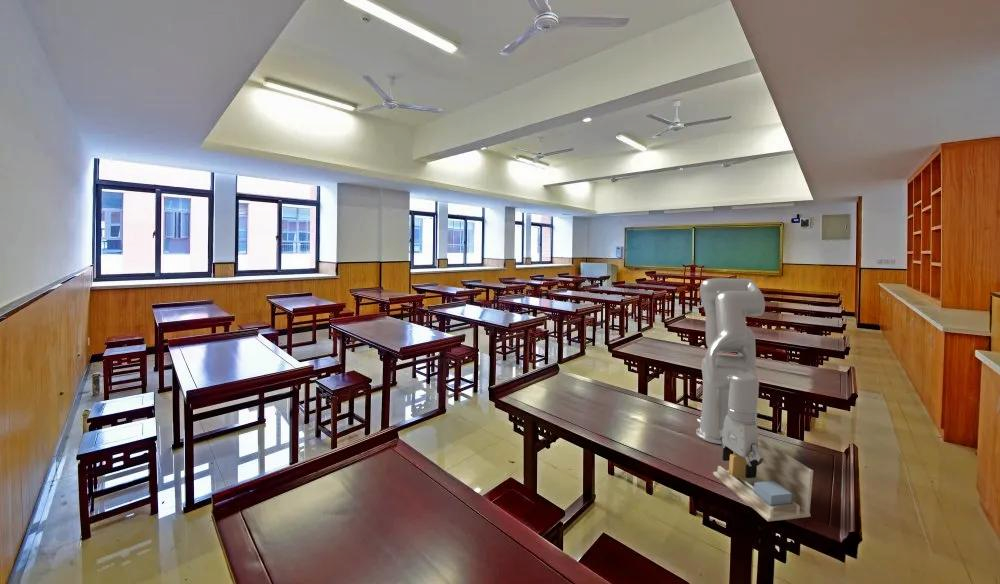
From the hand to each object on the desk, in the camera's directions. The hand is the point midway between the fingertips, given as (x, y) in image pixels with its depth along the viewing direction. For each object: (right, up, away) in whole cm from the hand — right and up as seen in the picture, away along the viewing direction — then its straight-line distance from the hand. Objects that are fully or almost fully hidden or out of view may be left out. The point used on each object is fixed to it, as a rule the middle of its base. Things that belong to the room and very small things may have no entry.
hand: (738, 468), depth 124 cm
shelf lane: (+2, -5, -6) cm, 8 cm away
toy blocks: (+1, -4, -7) cm, 8 cm away
